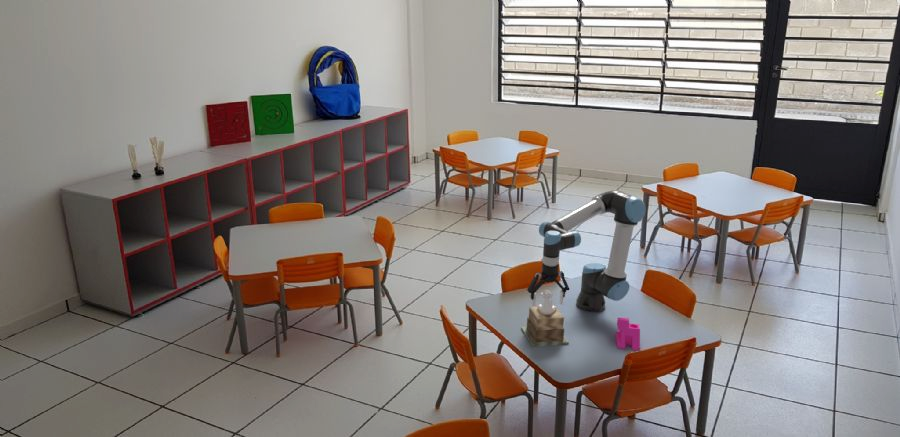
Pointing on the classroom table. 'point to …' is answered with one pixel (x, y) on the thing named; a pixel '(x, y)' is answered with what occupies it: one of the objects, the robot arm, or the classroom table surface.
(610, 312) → the classroom table surface
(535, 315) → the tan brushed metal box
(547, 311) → the seated beast figurine
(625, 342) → the bracket
